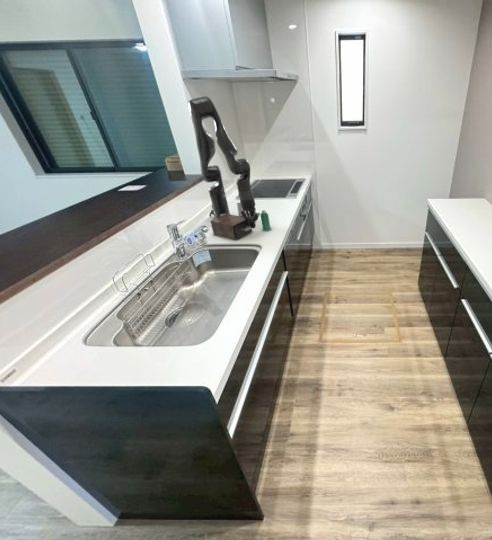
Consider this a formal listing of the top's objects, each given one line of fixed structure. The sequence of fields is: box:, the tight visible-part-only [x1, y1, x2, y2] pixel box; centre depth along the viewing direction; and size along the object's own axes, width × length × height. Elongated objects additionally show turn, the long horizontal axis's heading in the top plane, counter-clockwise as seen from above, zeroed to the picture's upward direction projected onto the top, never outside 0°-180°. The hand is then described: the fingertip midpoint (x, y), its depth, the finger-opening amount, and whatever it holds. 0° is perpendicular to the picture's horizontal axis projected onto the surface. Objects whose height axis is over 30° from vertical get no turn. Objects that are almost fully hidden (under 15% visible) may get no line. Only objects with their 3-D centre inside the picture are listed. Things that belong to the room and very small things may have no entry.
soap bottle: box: [260, 209, 271, 232], centre depth 174 cm, size 4×4×12 cm
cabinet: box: [210, 213, 252, 241], centre depth 171 cm, size 18×13×9 cm
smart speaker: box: [236, 202, 243, 217], centre depth 185 cm, size 10×9×14 cm
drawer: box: [234, 221, 253, 240], centre depth 170 cm, size 20×11×7 cm, turn 61°
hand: (253, 227), depth 170 cm, fingers closed
